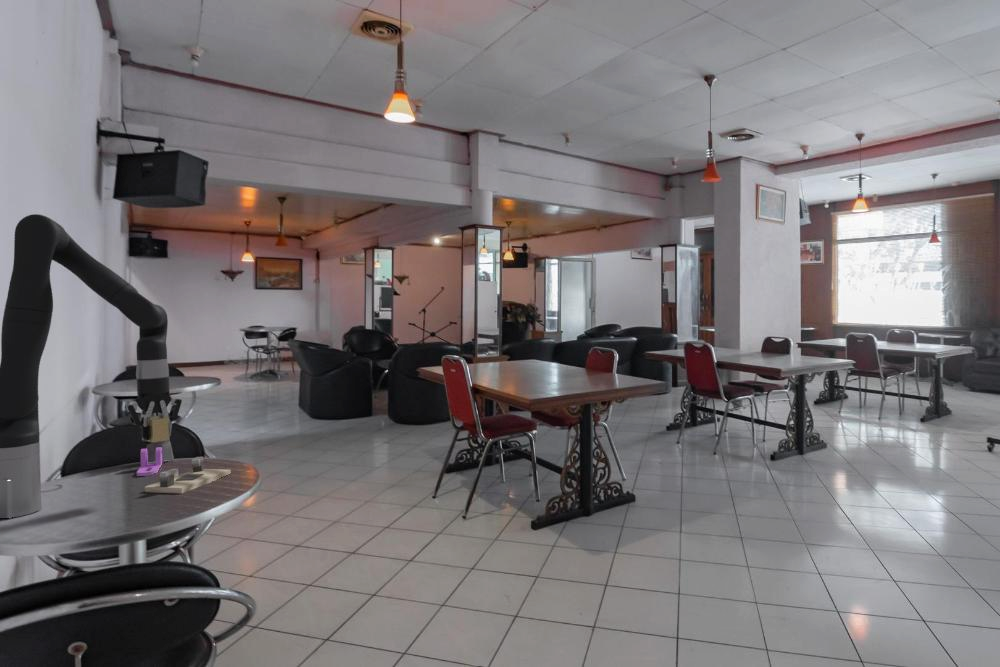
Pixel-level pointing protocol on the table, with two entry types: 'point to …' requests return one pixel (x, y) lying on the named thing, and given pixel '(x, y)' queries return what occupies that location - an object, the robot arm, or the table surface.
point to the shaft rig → (186, 478)
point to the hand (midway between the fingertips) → (155, 438)
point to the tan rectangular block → (158, 429)
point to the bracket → (147, 466)
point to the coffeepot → (165, 445)
